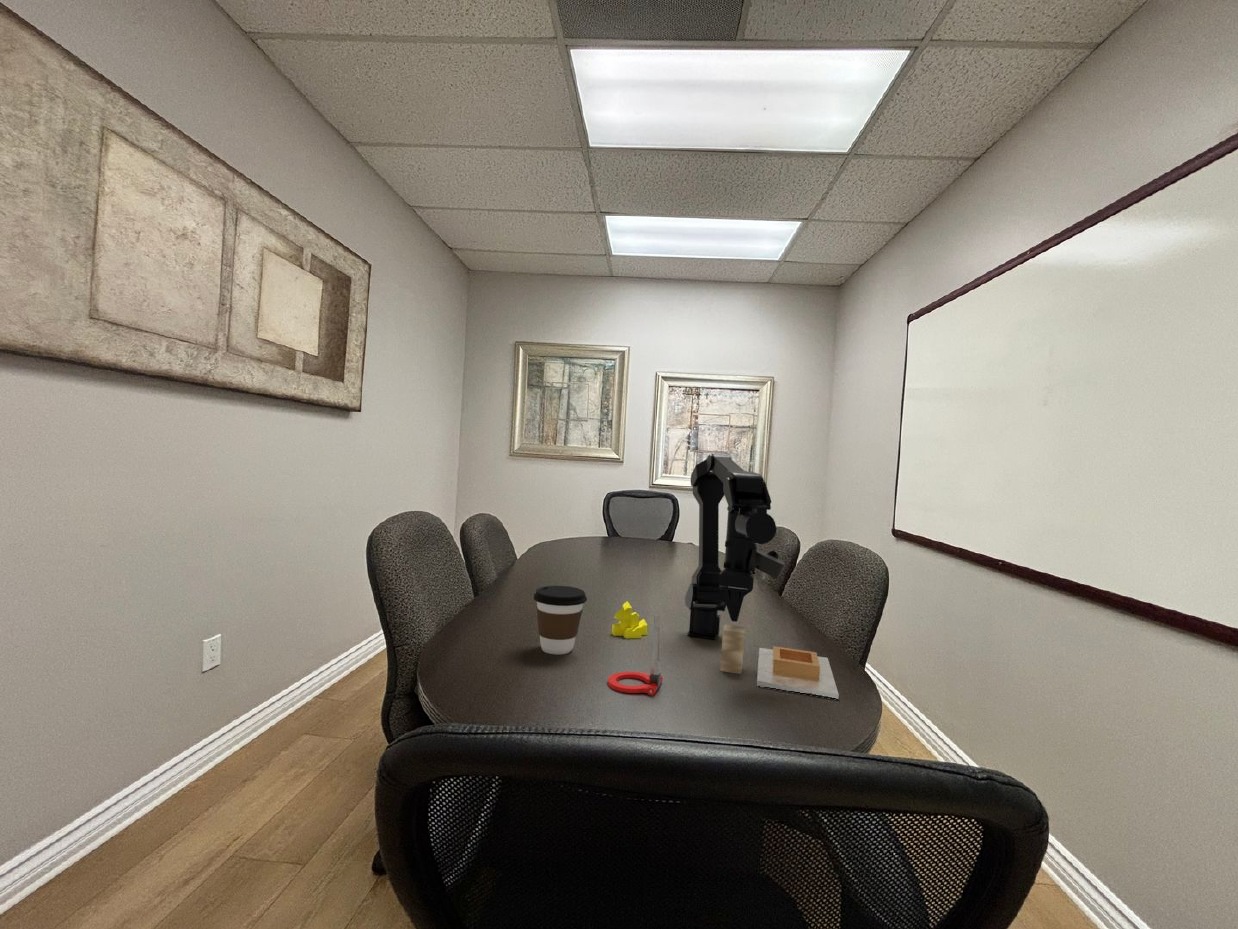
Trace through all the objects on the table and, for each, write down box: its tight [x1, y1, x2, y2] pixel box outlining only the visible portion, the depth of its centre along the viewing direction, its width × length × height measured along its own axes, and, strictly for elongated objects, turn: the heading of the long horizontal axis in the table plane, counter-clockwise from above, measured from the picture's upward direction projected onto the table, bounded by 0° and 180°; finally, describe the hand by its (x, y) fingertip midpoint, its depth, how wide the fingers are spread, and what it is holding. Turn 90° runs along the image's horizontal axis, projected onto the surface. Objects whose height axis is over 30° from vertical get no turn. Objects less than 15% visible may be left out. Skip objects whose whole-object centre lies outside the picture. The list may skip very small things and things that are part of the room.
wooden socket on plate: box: [756, 645, 840, 700], centre depth 110 cm, size 14×20×4 cm
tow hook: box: [607, 614, 663, 697], centre depth 99 cm, size 8×13×9 cm
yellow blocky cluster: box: [611, 600, 648, 639], centre depth 128 cm, size 6×8×8 cm
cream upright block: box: [719, 624, 746, 675], centre depth 110 cm, size 4×4×8 cm
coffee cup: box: [533, 585, 588, 655], centre depth 114 cm, size 11×11×12 cm
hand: (735, 615), depth 110 cm, fingers open, 9 cm apart
